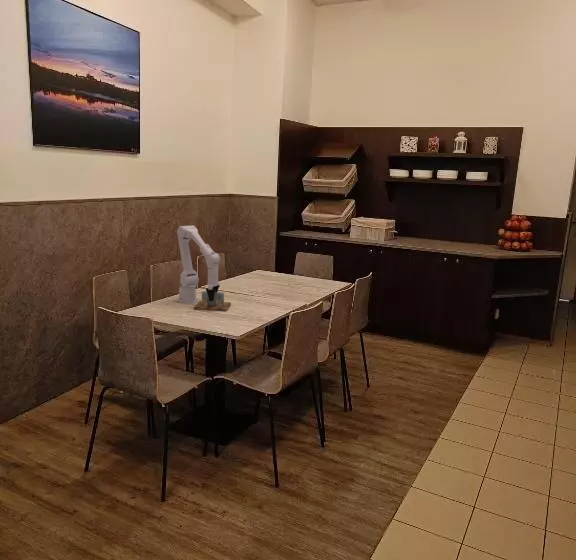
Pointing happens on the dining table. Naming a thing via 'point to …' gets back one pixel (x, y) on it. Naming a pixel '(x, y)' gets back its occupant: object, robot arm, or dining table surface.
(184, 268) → the robot arm
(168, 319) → the dining table surface
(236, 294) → the dining table surface
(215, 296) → the grey block
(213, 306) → the cabinet base
